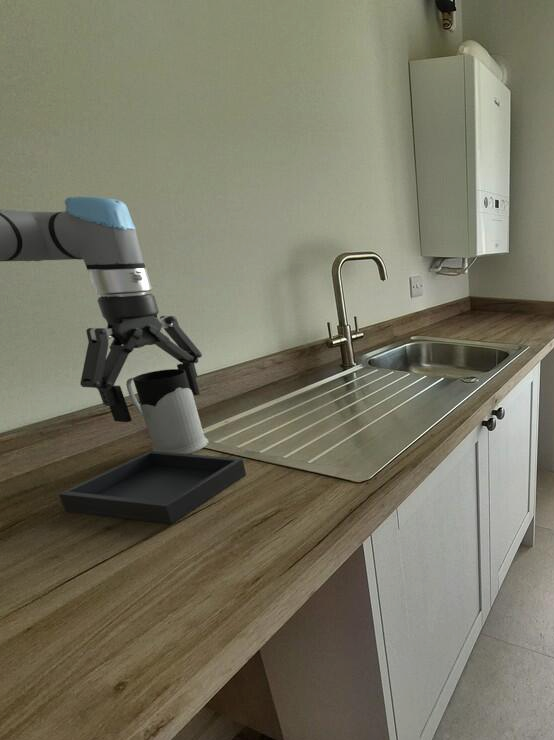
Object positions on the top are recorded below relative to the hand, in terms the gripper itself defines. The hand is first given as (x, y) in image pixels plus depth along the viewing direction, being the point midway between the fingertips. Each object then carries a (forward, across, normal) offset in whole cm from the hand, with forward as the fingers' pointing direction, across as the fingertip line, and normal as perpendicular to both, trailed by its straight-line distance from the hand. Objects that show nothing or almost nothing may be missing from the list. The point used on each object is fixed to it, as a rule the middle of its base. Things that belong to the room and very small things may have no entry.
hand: (160, 406), depth 78 cm
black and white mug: (+8, 0, 0) cm, 9 cm away
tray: (+8, -14, -14) cm, 21 cm away
